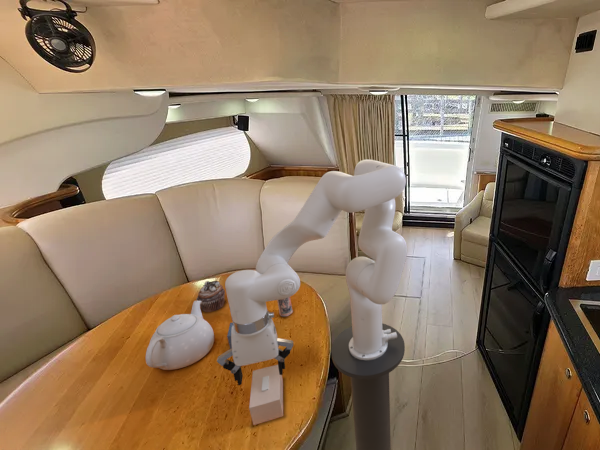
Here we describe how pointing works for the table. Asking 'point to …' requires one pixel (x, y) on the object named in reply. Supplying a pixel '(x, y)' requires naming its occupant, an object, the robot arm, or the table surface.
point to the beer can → (285, 306)
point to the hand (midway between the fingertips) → (261, 375)
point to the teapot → (180, 341)
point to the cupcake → (211, 296)
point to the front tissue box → (266, 395)
